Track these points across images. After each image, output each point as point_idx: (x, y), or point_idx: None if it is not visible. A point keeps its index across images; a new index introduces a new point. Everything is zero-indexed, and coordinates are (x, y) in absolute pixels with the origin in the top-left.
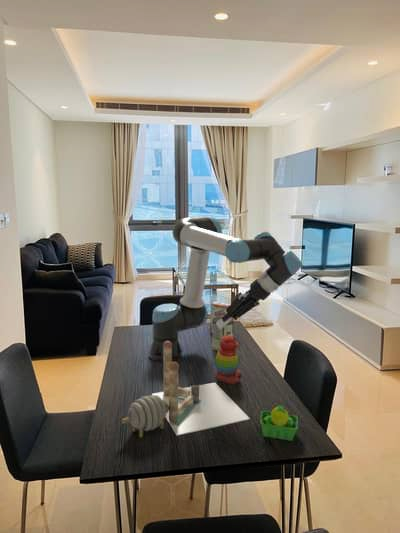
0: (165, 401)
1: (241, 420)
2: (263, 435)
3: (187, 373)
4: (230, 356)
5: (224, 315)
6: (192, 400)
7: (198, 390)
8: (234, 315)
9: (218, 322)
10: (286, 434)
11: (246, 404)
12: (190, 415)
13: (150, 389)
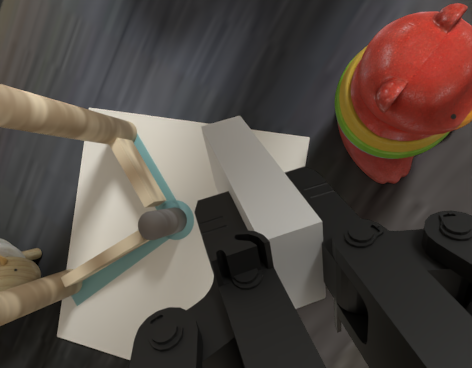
0: (10, 282)
1: None
2: None
3: (261, 14)
4: (386, 141)
5: (237, 197)
6: (147, 240)
7: (161, 237)
8: (346, 310)
9: (211, 153)
10: None
11: (315, 327)
12: (125, 280)
13: (100, 74)
